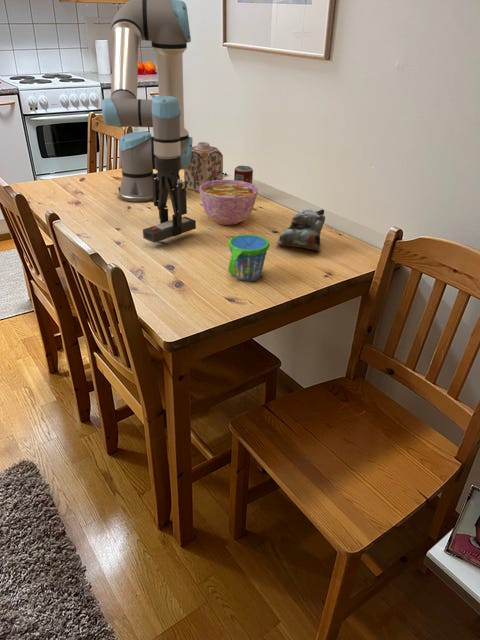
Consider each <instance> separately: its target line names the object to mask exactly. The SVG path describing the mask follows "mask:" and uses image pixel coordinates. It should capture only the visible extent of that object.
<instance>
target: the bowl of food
mask: <svg viewBox="0 0 480 640" xmlns="http://www.w3.org/2000/svg"><path fill="white" fill-rule="evenodd" d="M199 190H200V192H199V194H200V195H199V196H200V199H201V203H202V207H203V210H204V213H205V214H206V215H207V217H208V218H210V219H211V220H213V221H215V222H216V223H218V224H220V225H224V226H234V225H237V224H239V223H241V222H244V221H245V220H247V219H248V218H249V217H250V216H251V214H252V212H253V210H254V207H255V204H256V200H257V197H258V193H259V188H258V187H257V186H256V185H255V184H253V183H252V184H250V183H248V182H243V181H236V180H234V179H223V180H215V181H210V182H206V183H204V184H202V185H201V186H200V187H199Z"/></svg>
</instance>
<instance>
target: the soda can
mask: <svg viewBox="0 0 480 640" xmlns="http://www.w3.org/2000/svg"><path fill="white" fill-rule="evenodd" d="M233 174H234V176H233V177H234V178H233V180H236V181H243V182H248V183H250V184H253V176H254V169H253V168H252V167H251V166H249V165H238V166H236V167H235V168H234V173H233Z"/></svg>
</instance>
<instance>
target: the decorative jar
mask: <svg viewBox="0 0 480 640" xmlns="http://www.w3.org/2000/svg"><path fill="white" fill-rule="evenodd" d="M223 172H224V155H223V153H222V152H221V151H220V150H219V148H218V147H215V146H211V145H210V143H209V142H207V141H199V142H197V145H195V146H192V154H191V162H190V166H189V168H188V169H183V182H184V181H186V182H187V187H186V190H190V191H192V192H193V191H194V192H196V193H200V190H199V187H200V186H201V185H202V184H204V183H206V182H210V181H215V180H224V174H223Z"/></svg>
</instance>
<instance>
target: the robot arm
mask: <svg viewBox="0 0 480 640" xmlns="http://www.w3.org/2000/svg"><path fill="white" fill-rule="evenodd" d="M110 27H111V28H110V38H111V40H112V42H113V48H112V65H111V66H112V67H111V82H110V83H111V86H110V97H108V98H103V99H102V102H101V113H102V119H103V122H104V124H105V125H106V126H108V127H114V128H152V133H151V132H150V131H141V130H140V131H134V132H128V133H126V134H123V135H122V136H121V137H120V138H119V154H120V155H119V156H120V165H121V175H122V176H121V182H120V186H119V187H118V188H117V189H118V195H119V196H118V197H119V198H120V199H121V200H123V201H126V202H131V203H146V202H152V201H153V206H154V207H156V208H157V210H158V218H159V224H161V223H164V222H168V221H169V209H168V208H169V206H168V205H167V203H168V196H169V197H170V201H171V205H172V210H173V214H172V217H171V218H172V219H171V220H172V221H173V237H178V236H181V235H182V234H181V225H182V217H183V216H185V215H187V213H188V206H187V189H186V187H187V182H186V181H184V180H182V179H181V177H180V171H182V170H184V169H188V168H189V166H190V162H191V154H192V147H193V141H194V140H193V137H191V136H190V133H189V131H188V130H187V129H186V128H185V105H184V104H185V101H184V98H185V97H184V65H183V61H184V60H183V59H184V58H183V56H184V53H185V51H187V49H188V43H191V42H192V38H191V37H192V36H191V30H190V29H191V28H190V21H189V15H188V7H187V4H186V3H185V1H184V0H128V1H127V2H125V3H124V4H123V5H121V6H120V8H119V9H118V10H117V11H116V13H115V14H114V16H113V19H112V22H111V26H110ZM143 41H146V42H147V41H148V42H151V49H152V50H154V52H155V53H156V65H157V83H158V85H157V87H158V96H154V97H153V98H152V99H144V98H142V99H140V98H138V77H139V75H138V74H139V47H140V45H141V43H142V42H143ZM152 134H153V136H152ZM154 170H156V171H157V172H155V173H154ZM223 175H224V176H228V174H227V173H226V172H225V174H224V173H223Z"/></svg>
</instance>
